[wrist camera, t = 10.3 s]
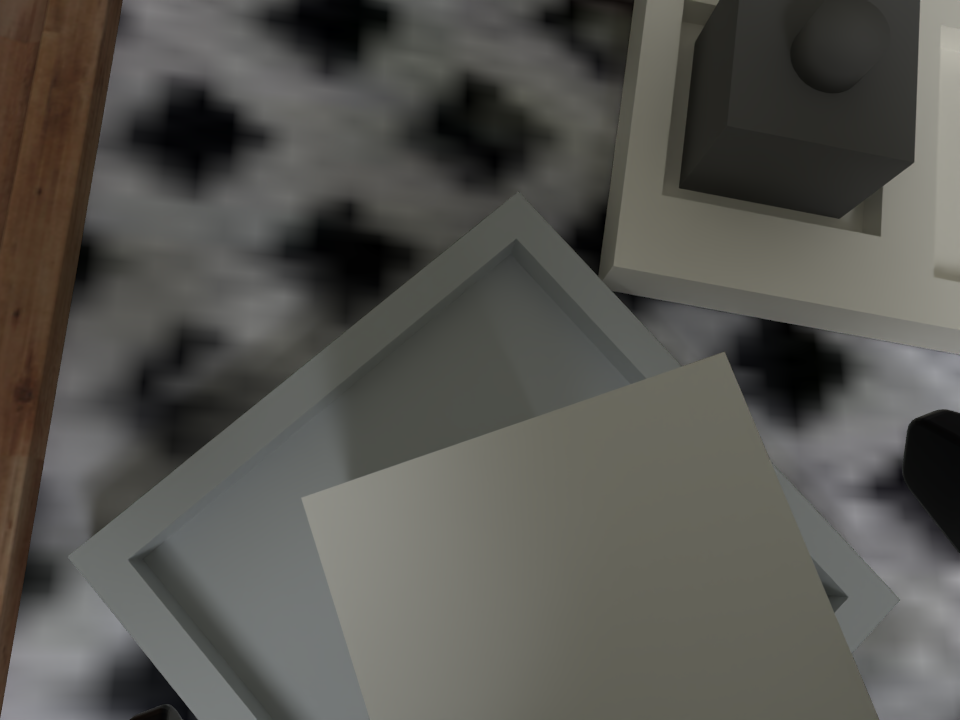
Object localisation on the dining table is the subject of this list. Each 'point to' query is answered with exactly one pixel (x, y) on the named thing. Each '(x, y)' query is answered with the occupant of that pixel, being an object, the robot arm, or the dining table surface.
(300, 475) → the tray
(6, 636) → the chopping board
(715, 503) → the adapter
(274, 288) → the dining table surface
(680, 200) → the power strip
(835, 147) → the black plug
